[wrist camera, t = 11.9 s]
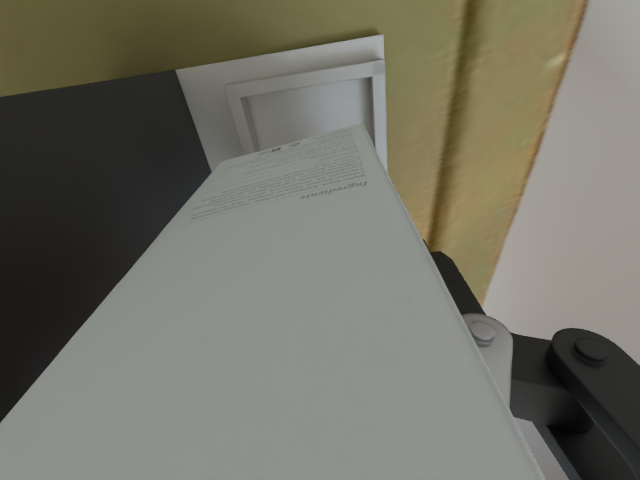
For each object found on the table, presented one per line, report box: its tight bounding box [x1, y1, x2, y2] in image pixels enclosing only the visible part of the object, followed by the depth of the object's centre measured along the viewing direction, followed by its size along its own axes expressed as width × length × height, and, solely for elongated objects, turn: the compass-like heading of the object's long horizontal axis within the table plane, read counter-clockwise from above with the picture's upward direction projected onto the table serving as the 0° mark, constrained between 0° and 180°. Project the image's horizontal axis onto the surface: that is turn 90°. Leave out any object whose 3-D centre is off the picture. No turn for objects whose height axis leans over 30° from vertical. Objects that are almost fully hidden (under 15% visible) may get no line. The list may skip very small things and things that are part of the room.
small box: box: [0, 123, 546, 480], centre depth 9 cm, size 8×6×13 cm
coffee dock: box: [0, 34, 388, 422], centre depth 15 cm, size 18×14×19 cm
